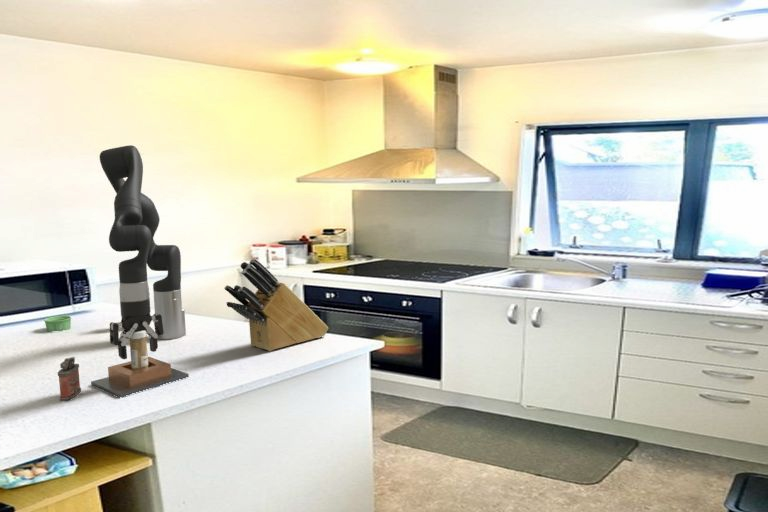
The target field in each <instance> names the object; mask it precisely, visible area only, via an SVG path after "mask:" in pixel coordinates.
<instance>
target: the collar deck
mask: <svg viewBox="0 0 768 512" xmlns="http://www.w3.org/2000/svg"><path fill="white" fill-rule="evenodd" d="M107 373H108V374H107V375H108V376H106V377H103V378H100V379H96V380H91V381H90V385H91V386H92V387H94V386H95V387H94V388H96V387H97V388H96V389H98V388H99V389H98V390H101V391H103V390H104V391H103V392H105V391H106V392H105V393H107V392H108V393H107V394H109V393H110V395H111V394H112V396H114V395H115V396H114V397H116V396H117V397H116V398H118V397H119V398H118V399H121V398H120V397H122V398H124V397H123V396H125V397H127V396H126V395H129V396H131V395H130V394H132V393H135V394H137V393H136V392H138V393H140V392H139V391H142V392H144V391H143V390H145V391H147V390H146V389H148V390H150V389H149V388H152V389H154V388H153V387H155V388H158V387H161V386H160V385H162V386H164V385H163V384H165V385H167V384H166V383H168V384H170V383H169V382H171V383H174V382H173V381H175V382H177V381H176V380H178V381H180V380H179V379H181V380H184V379H183V378H185V379H187V378H186V377H188V378H189V373H187V372H184V371H181V370H178V369H175V368H173V367H172V364H171V363H168V362H166V361H163V360H160V359H157V358H155V357H154V358H153V357H151V356H148V368H144V369H141V370H137V371H132V366H131V360H129V361H126V362H122V363H117V364H114V365H110V366H107ZM157 386H158V387H157ZM132 395H133V394H132Z"/></svg>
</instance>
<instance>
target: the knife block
mask: <svg viewBox="0 0 768 512" xmlns="http://www.w3.org/2000/svg"><path fill="white" fill-rule="evenodd" d="M240 268H241V269H242V271H241V275H243V276H244V277H245V278H246V279H247V281H249V282H250V283H251V285H253V286H254V287H255V288H256V289H257V290H256V292H253V291H252V290H251V289H249V288H247V287H246V286H240V285H234V286H233V287H232V286H230V285H227V284H226V285H225V286H224V289H223V290H225V291H226V292H228V293H229V294H230V296H232V297H233V298H234V299H235V300H236V301H238V302H239V303H237V302H232V301H227V302H226V306H227V307H228V308H231V309H233V310H234V311H235V312H236V313H237V314H239V315H241V316H242V317H244V318H245V319H247V320H248V322H249V323H248V325H249V337H250V345H251V346H253V347H255V346H256V348H259V349H263V350H266V351H268V352H273V351H274V350H277V349H281V348H284V347H288V346H291V345H294V344H298V343H302V342H303V343H304V342H306V341H309V340H313V339H320V338H321V337H324V336H326V334H327V332H328V330H329V326H327V324H326V323H325V322H324V321H323V320H322V319H321V318H320V317H319V316H318V315H317V314H315V312H314V311H313V310H312V309H311V308H310V307H309V305H307V304H306V303H305V302H304V301H302V299H301V298H300V297H298V295H297V294H296V293H295V292H294V291H293V290H292V289H291V288H289V286H287V284H286V283H284V282H280V281H279V280H278V279H277V278H276V277H275V276H274V275H273V274H272V273H271V271H269V270H268V269H267V268H266V267H265V266H264V265H263V264H262V263H261V262H260V261H259V260H257V259H255V258H252V259H251V260H250V261H249V263H247V261H243V262H242V263H241V264H240Z"/></svg>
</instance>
